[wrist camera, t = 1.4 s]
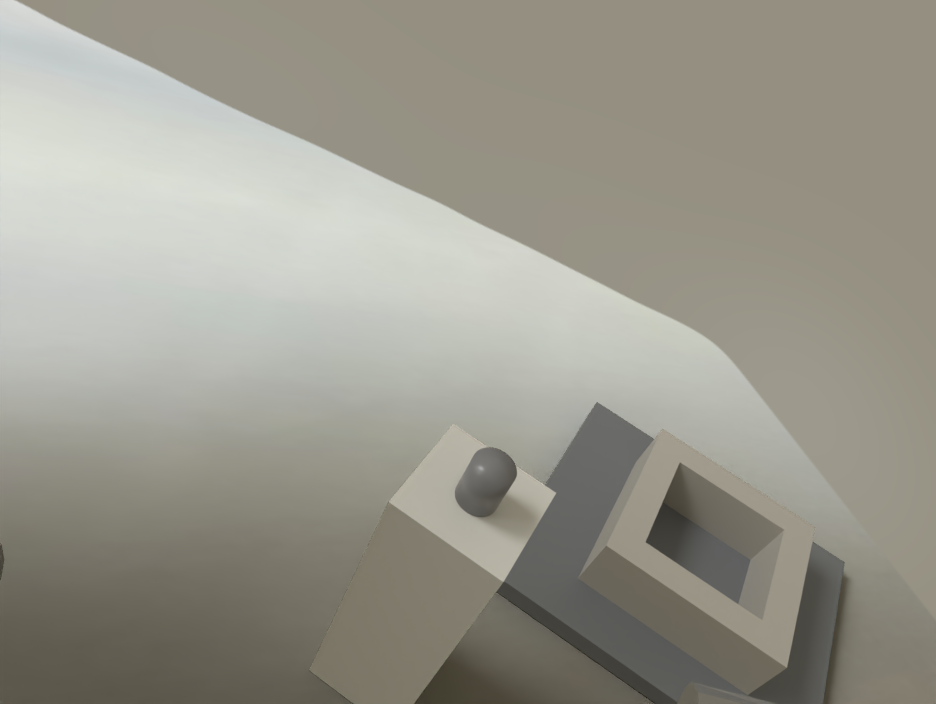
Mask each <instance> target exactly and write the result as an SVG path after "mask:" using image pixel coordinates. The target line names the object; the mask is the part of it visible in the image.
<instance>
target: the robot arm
mask: <svg viewBox="0 0 936 704" xmlns="http://www.w3.org/2000/svg"><path fill="white" fill-rule="evenodd" d="M3 564H4V556H3V550H2V545H1V543H0V580H1V577H2V570H3ZM677 704H776V703H772V702H768V701H764V700H760V699H756V698H752V697H748V696H745V695H741V694H737V693H733V692H729V691H725V690H721V689H717V688H713V687H710V686H706V685H702V684H698V683H694V682H691V683H690V684H688V685H687V686H686V687H685V688H684V690H683V692H682V694H681V696H680V698H679V700H678V702H677Z"/></svg>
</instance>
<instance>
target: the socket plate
mask: <svg viewBox="0 0 936 704" xmlns="http://www.w3.org/2000/svg"><path fill="white" fill-rule="evenodd" d="M545 486H547V487H548V488H550V489H551V490H553V491H554V492H556V494H555V496H554V498H553V499H552V501H551V503H550V504H549V506H548V508H547V509H546V511H545V513H544V515H543V516H542V518H541V520H540V521H539V523H538V525H537V526H536V528H535V530H534V531H533V533H532V535H531V536H530V538H529V540H528V542H527V543H526V545H525V547H524V548H523V550H522V552H521V553H520V555H519V557H518V558H517V560H516V562H515V563H514V565H513V567H512V569H511V570H510V572H509V574H508V575H507V577H506V579H505V580H504V582H503V583H502V585H501V586H500V587H499V589H498V590H497V592H498V593H499V594H500V595H502V596H503V597H505V598H506V599H508V600H509V601H510V602H512V603H513V604H515V605H516V606H517V607H519V608H520V609H522V610H523V611H525V612H526V613H527V614H529V615H530V616H532V617H533V618H535V619H536V620H537V621H539V622H540V623H542V624H543V625H544V626H546V627H547V628H549V629H550V630H552V631H553V632H554V633H556V634H557V635H559V636H560V637H562V638H563V639H564V640H566V641H567V642H569V643H570V644H572V645H573V646H574V647H576V648H577V649H579V650H580V651H581V652H583V653H584V654H586V655H587V656H589V657H590V658H591V659H593V660H594V661H596V662H597V663H599V664H600V665H601V666H603V667H604V668H606V669H607V670H608V671H610V672H611V673H613V674H614V675H616V676H617V677H618V678H620V679H621V680H623V681H624V682H626V683H627V684H628V685H630V686H631V687H633V688H634V689H635V690H637V691H638V692H640V693H641V694H643V695H644V696H645V697H647V698H648V699H650V700H651V701H653V702H654V703H655V704H677V702H678V700H679V698H680V696H681V694H682V692H683V690H684V688H685V687H686V686H687V685H688V684H690V683H691V682H694V683H698V684H702V685H706V686H710V687H713V688H717V689H721V690H725V691H729V692H733V693H737V694H741V695H745V696H748V697H752V698H756V699H760V700H764V701H768V702H772V703H776V704H823V700H824V693H825V687H826V680H827V673H828V667H829V660H830V654H831V647H832V641H833V634H834V628H835V621H836V615H837V608H838V602H839V595H840V588H841V582H842V575H843V569H844V562H843V561H842V560H840V559H839V558H837V557H836V556H834V555H832V554H831V553H829V552H828V551H826V550H825V549H823V548H822V547H820V546H819V545H817V544H815V543H814V542H812V541H813V536H814V531H815V527H814V526H813V525H811V524H810V523H808V522H806V521H805V520H803V519H802V518H800V517H799V516H797V515H796V514H794V513H793V512H791V511H789V510H788V509H786V508H785V507H783V506H782V505H780V504H779V503H777V502H775V501H774V500H772V499H771V498H769V497H768V496H766V495H765V494H763V493H761V492H760V491H758V490H757V489H755V488H754V487H752V486H751V485H749V484H747V483H746V482H744V481H743V480H741V479H740V478H738V477H737V476H735V475H733V474H732V473H730V472H729V471H727V470H726V469H724V468H723V467H721V466H720V465H718V464H716V463H715V462H713V461H712V460H710V459H709V458H707V457H706V456H704V455H702V454H701V453H699V452H698V451H696V450H695V449H693V448H692V447H690V446H688V445H687V444H685V443H684V442H682V441H681V440H679V439H678V438H676V437H674V436H673V435H671V434H670V433H668V432H667V431H665V430H664V429H662V430H661V431H660V433H659V434H658V435H657V436H656V438H655V439H653V438H652V437H650V436H649V435H647V434H645V433H644V432H642V431H641V430H639V429H638V428H636V427H635V426H633V425H632V424H630V423H628V422H627V421H625V420H624V419H622V418H621V417H619V416H618V415H616V414H615V413H613V412H611V411H610V410H608V409H607V408H605V407H604V406H602V405H601V404H599V403H598V402H597V403H596V404H595V406H594V407H593V409H592V410H591V412H590V413H589V415H588V416H587V418H586V420H585V421H584V423H583V424H582V426H581V428H580V429H579V431H578V433H577V434H576V436H575V437H574V439H573V441H572V442H571V444H570V446H569V447H568V449H567V450H566V452H565V454H564V455H563V457H562V459H561V460H560V462H559V463H558V465H557V467H556V468H555V470H554V472H553V473H552V475H551V476H550V478H549V480H548V481H547V483H546V485H545Z"/></svg>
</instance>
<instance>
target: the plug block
mask: <svg viewBox="0 0 936 704" xmlns="http://www.w3.org/2000/svg"><path fill="white" fill-rule="evenodd" d="M555 494H556V492H554V491H553V490H551V489H550V488H548V487H547V486H545V485H544V484H542V483H541V482H539V481H538V480H536V479H535V478H533V477H532V476H530V475H529V474H527V473H526V472H524V471H523V470H521V469H520V468H518V467H517V466H516V465H515V463H514V461H513V460H512V459H511V458H510V456H508V455H507V454H506V453H505V452H503V451H501V450H499V449H496V448H491V447H487V446H486V445H484V444H483V443H481V442H480V441H478V440H477V439H475V438H474V437H472V436H471V435H469V434H468V433H466V432H465V431H463V430H462V429H460V428H459V427H457V426H456V425H454V424H453V425H452V426H451V427H450V428H449V429H448V431H447V432H446V433H445V434H444V435H443V437H442V438H441V439H440V440H439V442H438V443H437V444H436V445H435V446H434V448H433V449H432V450H431V451H430V452H429V454H428V455H427V456H426V457H425V458H424V460H423V461H422V462H421V463H420V464H419V466H418V467H417V468H416V469H415V470H414V472H413V473H412V474H411V475H410V477H409V478H408V479H407V480H406V481H405V483H404V484H403V485H402V486H401V487H400V489H399V490H398V491H397V492H396V493H395V495H394V496H393V497H392V498H391V499H390V501H389V502H388V504H387V506H386V508H385V510H384V512H383V515H382V517H381V519H380V521H379V523H378V525H377V527H376V529H375V532H374V534H373V536H372V538H371V540H370V542H369V544H368V546H367V549H366V551H365V553H364V555H363V557H362V559H361V561H360V563H359V566H358V568H357V570H356V572H355V574H354V576H353V578H352V580H351V583H350V585H349V587H348V589H347V591H346V593H345V595H344V597H343V599H342V602H341V604H340V606H339V608H338V610H337V612H336V614H335V616H334V619H333V621H332V623H331V625H330V627H329V629H328V631H327V633H326V636H325V638H324V640H323V642H322V644H321V646H320V648H319V650H318V653H317V655H316V657H315V659H314V661H313V663H312V665H311V667H310V670H309V671H311V672H312V673H313V674H315V675H316V676H317V677H319V678H320V679H321V680H323V681H324V682H325V683H327V684H328V685H329V686H331V687H332V688H333V689H335V690H336V691H337V692H338V693H340V694H341V695H342V696H344V697H345V698H346V699H348V700H349V701H350V702H352V703H353V704H414V703H415V702H416V700H417V699H418V697H419V696H420V695H421V693H422V692H423V691H424V689H425V688H426V687H427V685H428V684H429V683H430V681H431V680H432V678H433V677H434V676H435V674H436V673H437V672H438V670H439V669H440V668H441V666H442V665H443V663H444V662H445V661H446V659H447V658H448V657H449V655H450V654H451V653H452V651H453V650H454V649H455V647H456V646H457V644H458V643H459V642H460V640H461V639H462V638H463V636H464V635H465V634H466V632H467V631H468V630H469V628H470V627H471V625H472V624H473V623H474V621H475V620H476V619H477V617H478V616H479V615H480V613H481V612H482V611H483V609H484V608H485V606H486V605H487V604H488V602H489V601H490V600H491V598H492V597H493V596H494V594H495V593H496V592H497V590H498V589H499V587H500V586H501V585H502V583H503V582H504V580H505V579H506V577H507V575H508V574H509V572H510V570H511V569H512V567H513V565H514V563H515V562H516V560H517V558H518V557H519V555H520V553H521V552H522V550H523V548H524V547H525V545H526V543H527V542H528V540H529V538H530V536H531V535H532V533H533V531H534V530H535V528H536V526H537V525H538V523H539V521H540V520H541V518H542V516H543V515H544V513H545V511H546V509H547V508H548V506H549V504H550V503H551V501H552V499H553V498H554V496H555Z"/></svg>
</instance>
